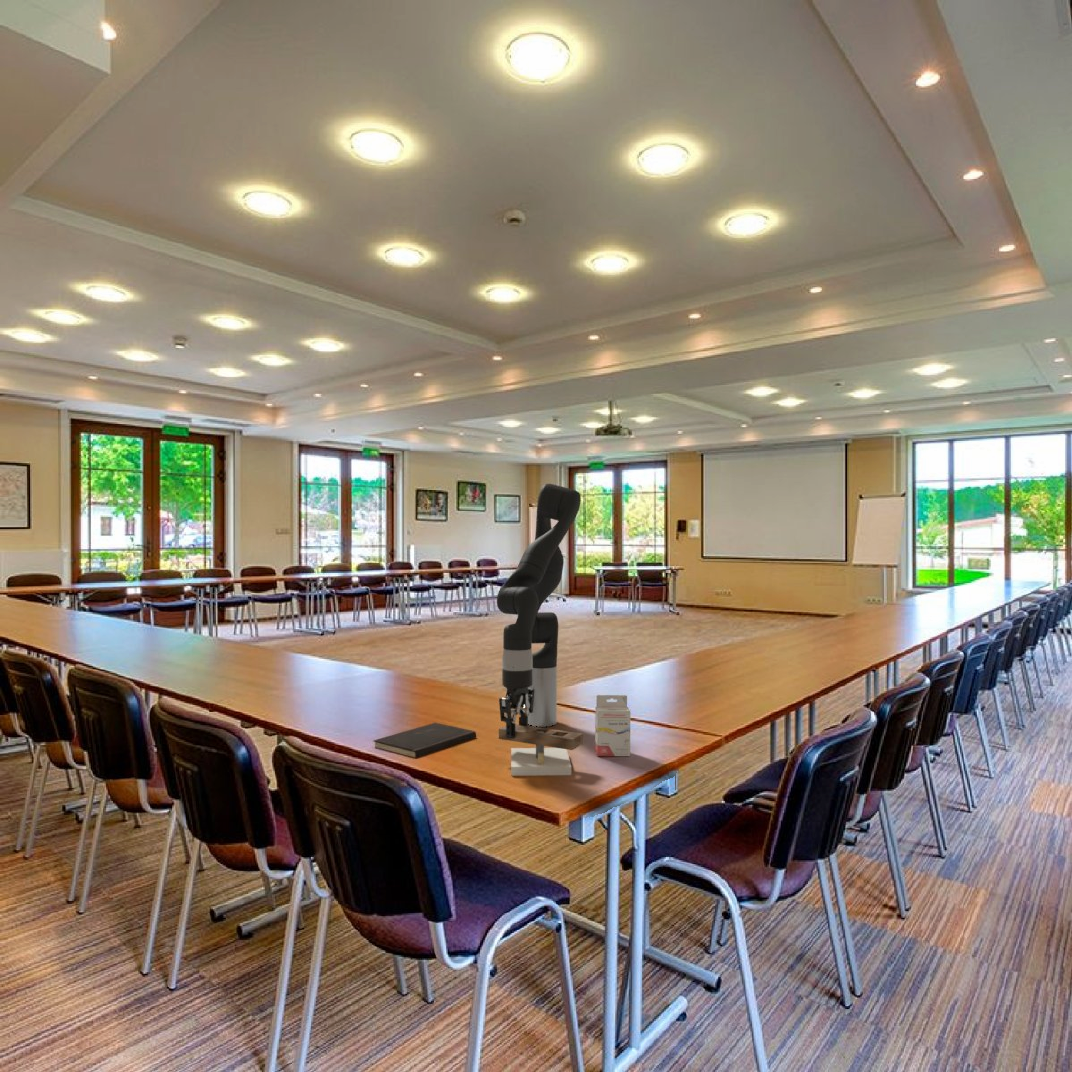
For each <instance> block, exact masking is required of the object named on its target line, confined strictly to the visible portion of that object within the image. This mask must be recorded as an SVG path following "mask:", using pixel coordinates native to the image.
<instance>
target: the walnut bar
mask: <svg viewBox="0 0 1072 1072" xmlns="http://www.w3.org/2000/svg"><path fill="white" fill-rule="evenodd" d="M537 731H543V732H544V734H542V733H536V732H537ZM583 736H584V735H583V733H581V732H573V731H567V730H559V729H555V728H553V729H552V728H548V727H547V728H545V727H536V726H530V725H528V726H525V725H519V723H515V738H514V739H510V738H507V737H506V725H505V726H502V727H500V728H498V740H503V741H510V742H517V743H522V744H523V743H524V744H531V745H535V746H536V745H542V746H544V747H547V748H561V749H567V751H568V750H570V751H574V750H576V749H577V748H578V747H580V746H582V745H583V742H584V740H583V739H584V737H583Z"/></svg>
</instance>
